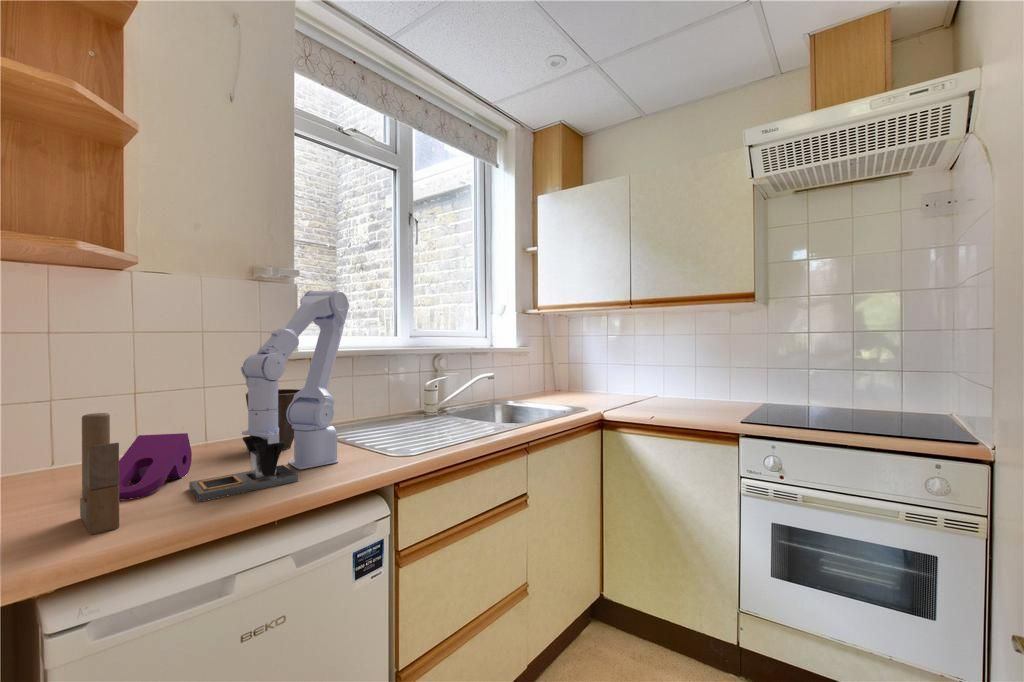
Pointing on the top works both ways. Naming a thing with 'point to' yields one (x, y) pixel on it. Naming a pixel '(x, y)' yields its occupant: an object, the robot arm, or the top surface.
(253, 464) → the metal block with hole
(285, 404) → the plant pot
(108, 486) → the wooden block
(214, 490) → the grey holder tray
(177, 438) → the mounting bracket
